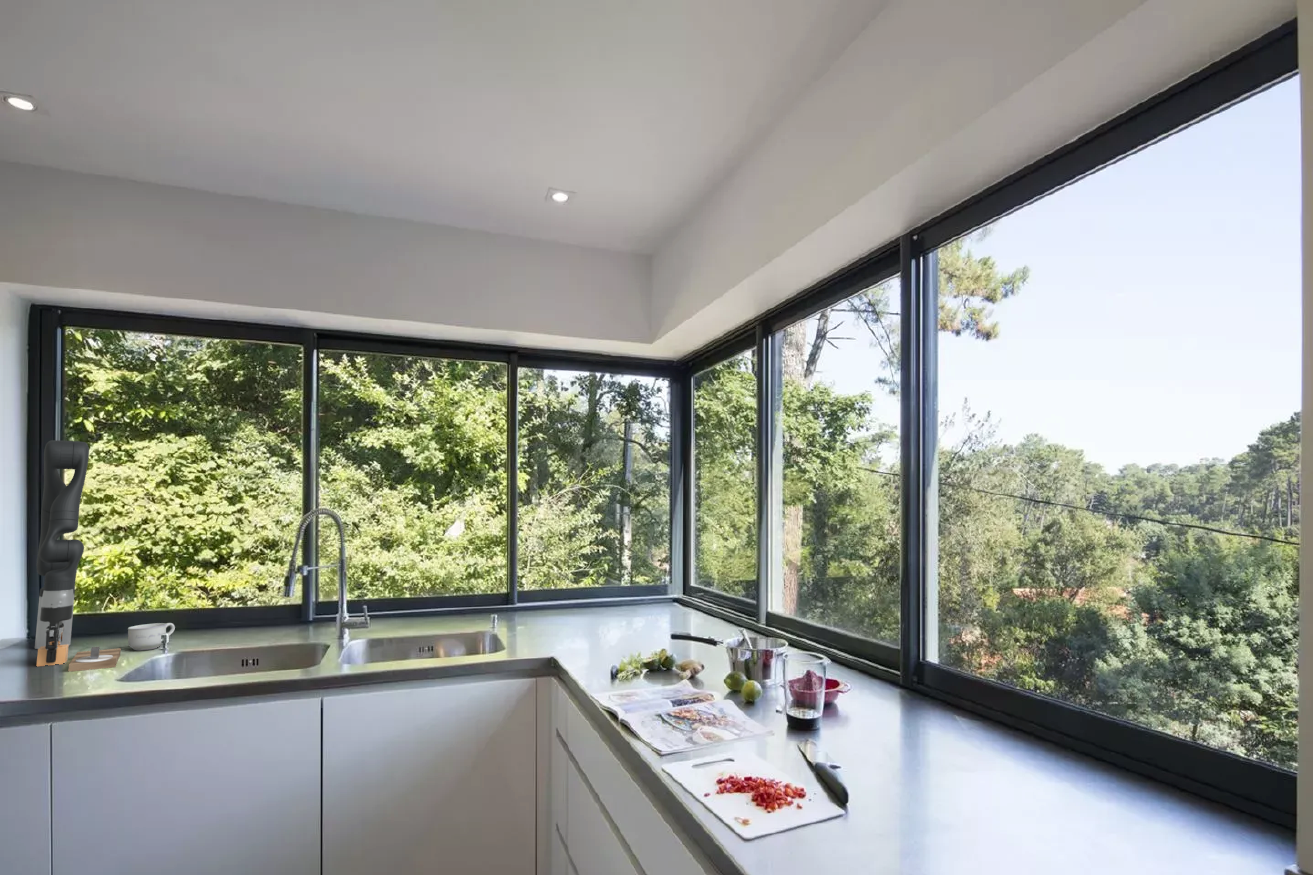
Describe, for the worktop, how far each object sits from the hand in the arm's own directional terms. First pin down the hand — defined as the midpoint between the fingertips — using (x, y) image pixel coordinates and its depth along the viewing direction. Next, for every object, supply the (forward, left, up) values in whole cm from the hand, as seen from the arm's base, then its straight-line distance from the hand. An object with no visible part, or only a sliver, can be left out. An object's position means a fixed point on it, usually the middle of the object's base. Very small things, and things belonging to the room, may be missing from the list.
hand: (52, 660), depth 216 cm
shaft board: (+5, +11, -1) cm, 12 cm away
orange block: (0, 0, -1) cm, 1 cm away
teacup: (-12, +24, -1) cm, 27 cm away
